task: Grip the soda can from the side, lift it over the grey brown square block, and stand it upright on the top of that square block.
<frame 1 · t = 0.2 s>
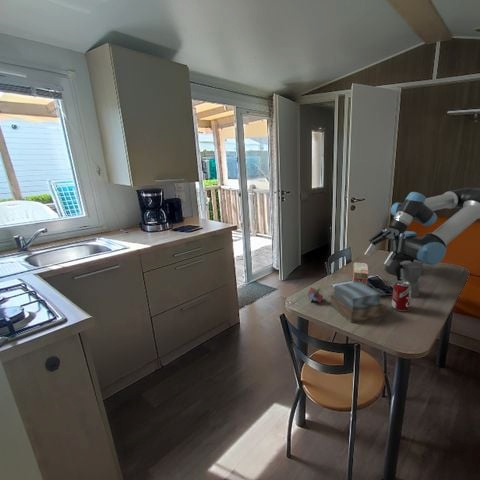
hand: (375, 260, 140), 15 cm above the table, tool tilted 35°, fingers open, 13 cm apart
coffeepot: (406, 294, 138), on the table
soda can: (400, 308, 126), on the table
grey brown square block: (355, 310, 126), on the table
geometric puzzle: (315, 301, 135), on the table
stack of blocks: (359, 287, 148), on the table
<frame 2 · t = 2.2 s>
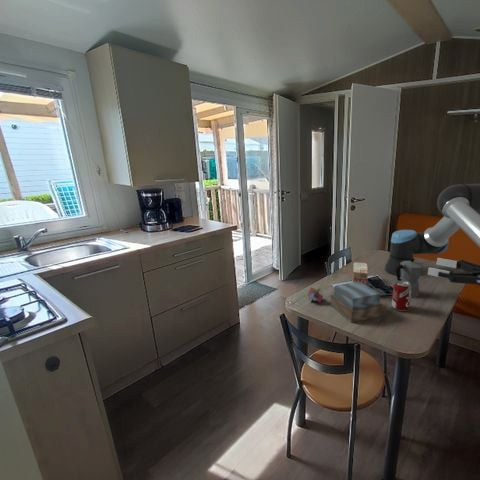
hand: (432, 265, 113), 22 cm above the table, tool horizontal, fingers open, 13 cm apart
nothing on the table moved.
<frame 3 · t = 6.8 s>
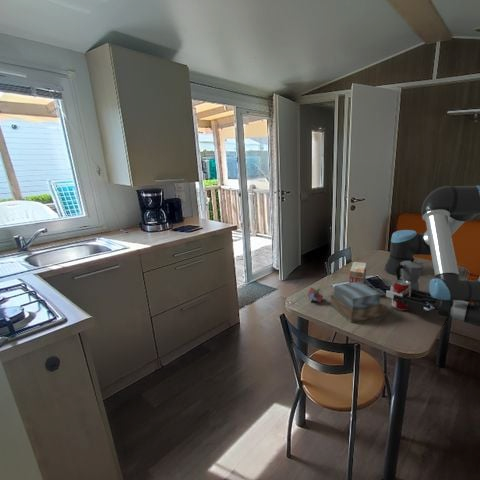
hand: (388, 291, 127), 7 cm above the table, tool horizontal, fingers closed on soda can, 5 cm apart
soda can: (399, 307, 126), on the table, touching gripper
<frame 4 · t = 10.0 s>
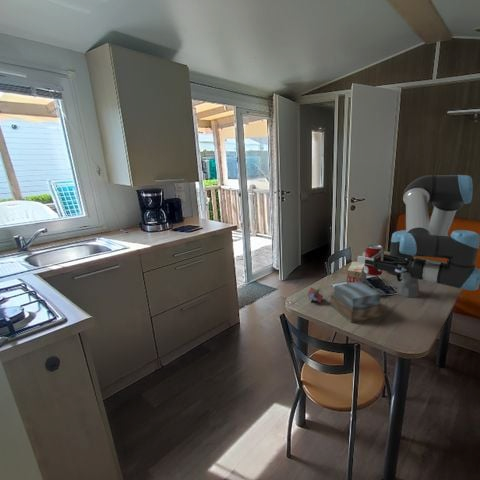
hand: (360, 257, 119), 24 cm above the table, tool horizontal, fingers closed on soda can, 5 cm apart
soda can: (372, 274, 118), point 18 cm above the table, touching gripper
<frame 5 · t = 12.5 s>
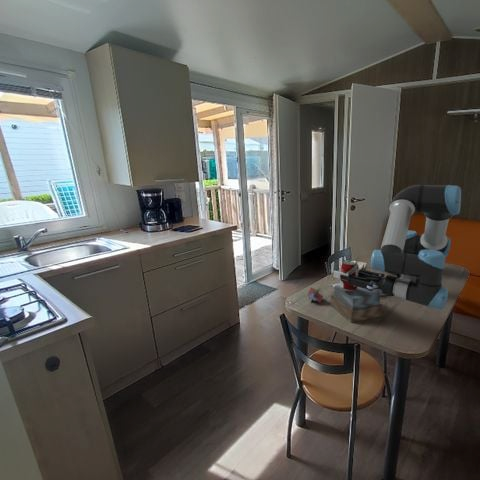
hand: (337, 271, 122), 18 cm above the table, tool horizontal, fingers closed on soda can, 5 cm apart
soda can: (348, 289, 121), point 11 cm above the table, touching gripper
when the fingers open (17 cm above the table, at t = 13.1 s): soda can moves 5 cm, resting on grey brown square block.
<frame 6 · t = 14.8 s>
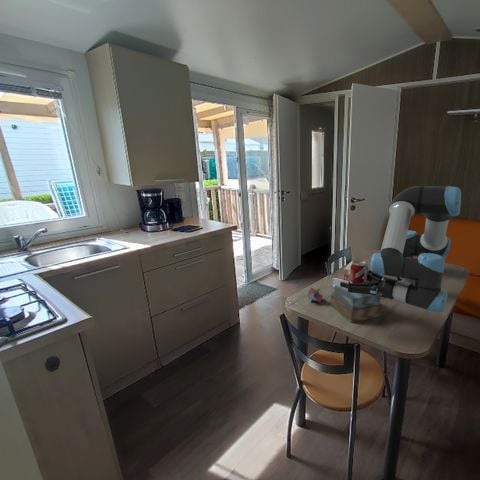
hand: (341, 275, 121), 16 cm above the table, tool horizontal, fingers open, 13 cm apart
soda can: (357, 289, 123), point 10 cm above the table, touching grey brown square block, gripper
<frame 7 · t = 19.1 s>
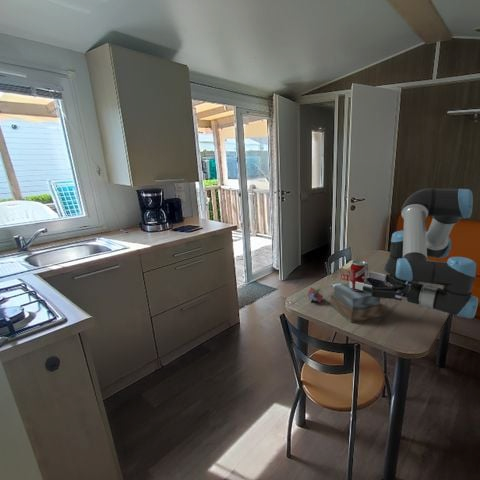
hand: (362, 279, 118), 16 cm above the table, tool horizontal, fingers open, 13 cm apart
soda can: (357, 289, 123), point 10 cm above the table, touching grey brown square block
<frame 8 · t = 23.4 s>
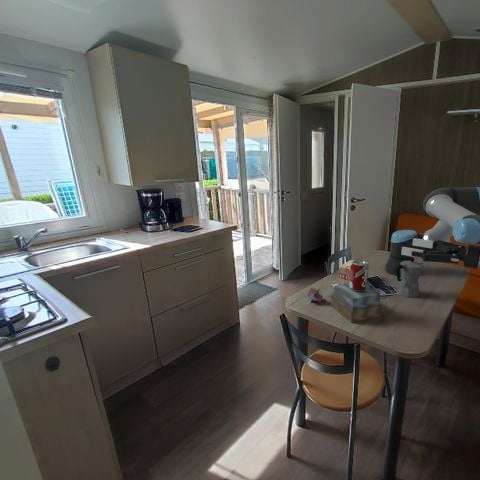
hand: (407, 246, 107), 32 cm above the table, tool horizontal, fingers open, 13 cm apart
at the end: soda can inside the target area on the grey brown square block (0.8 cm from its centre), point 9.8 cm above the grey brown square block's base; soda can tilted 0°; the gripper is holding nothing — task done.
